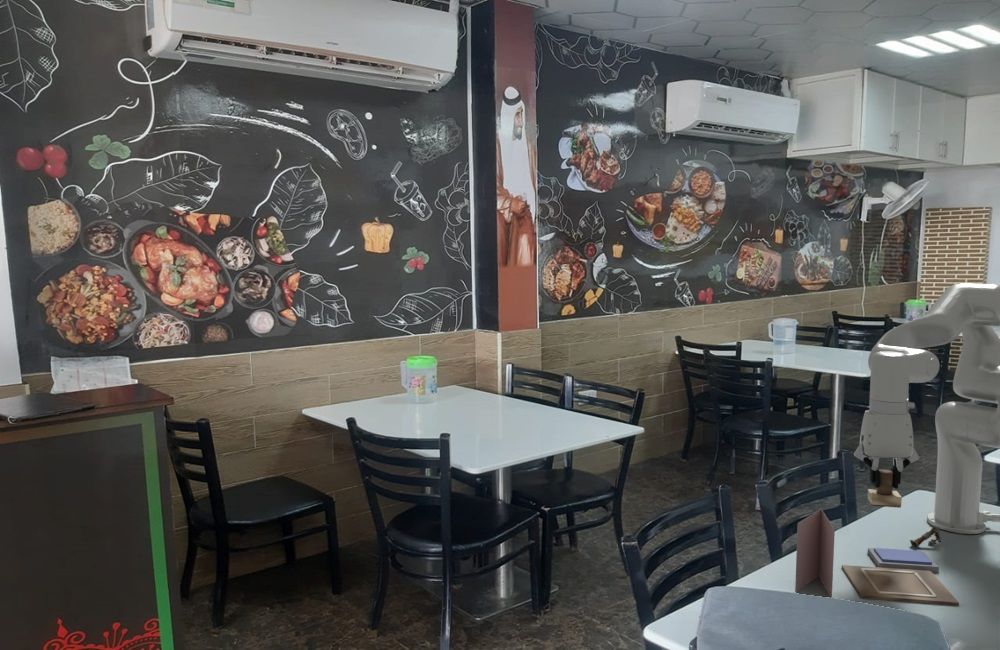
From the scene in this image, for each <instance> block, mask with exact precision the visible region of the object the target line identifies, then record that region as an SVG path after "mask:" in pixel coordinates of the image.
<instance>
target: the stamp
mask: <svg viewBox="0 0 1000 650" xmlns="http://www.w3.org/2000/svg"><path fill="white" fill-rule="evenodd" d="M878 470H879V471H880V485H879V487H878V488H876V489H873V488H872V489H871V488H867V501H868V502H869V503H870V505H871V506H872V507H873V506H874V507H887V508H897V509H898V508H900V509H901V507H902V498H903V497H902V496H901V494H900V493H899V492H898V491H897V490H894V487H893V472H892V471H891V469H878Z"/></svg>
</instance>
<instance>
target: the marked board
mask: <svg viewBox="0 0 1000 650" xmlns="http://www.w3.org/2000/svg"><path fill="white" fill-rule="evenodd" d="M841 569H842V570H843V572H844V574H845V575H846V577H847V578H848V580H849V581H850V583H851V585H853V588H854V589H855V590H856V593H857V594H858V595H859V597H860V599H869V600H881V601H882V600H883V601H891V602H892V601H895V602H907V603H909V602H910V603H921V604H933V605H934V604H936V605H945V606H946V605H949V606H960V602H959V601H958V600H957V598H956V597H955V596H954V595H953V594H952V592H950V590H949V589H948V588H947V587H945V585H944V584H943V583H942V582H941V581H940V580H939V579H938V578H937V576H935V574H934V572H931V571H925V570H910V569H895V568H880V567H878V566H877V567H876V566H864V565H863V566H862V565H848V564H847V565H846V564H842V565H841Z"/></svg>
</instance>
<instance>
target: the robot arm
mask: <svg viewBox="0 0 1000 650" xmlns="http://www.w3.org/2000/svg"><path fill="white" fill-rule="evenodd" d="M993 327H1000V284H985V283H956V284H953V285H950V286H949V287H948V288H947V289H945V291H943V292H942V293H941V295H940V296H939V297H938V299H937V300H936V301H935V302H934V303H933V304H932V305H931V307H930V308H929V309H928V310H927V311H926V312H925V313H924V314H923V316H921V317H918V318H917V317H916V318H915V319H912V320H910V321H907V322H905V323H903V324H900V325H898V326H896V327H894V328H892V329H890V330H888V331H887V332H886V333H884V334H883V336H881V338H880V339H879V340H878V341H877V342H876V344H875V345H874V346H873V347H872V349H871V350H870V353H869V356H868V360H867V366H868V368H869V370H870V384H869V405H868V406H869V407H868V409H867V410H865V411H864V413H863V417H862V423H861V426H860V427H861V429H860V435H859V445H858V447H856V450H855V451H854V452H853V455H854V457H855V458H856V459H858V460H860V461H862V462H864V463H865V464H866V465H867V466H868V467H869V468H870V470H869V481H870V483H871V484H872V485H873V486H874V487H875V488H876V489H877V488H878V487H879V485H880V471H879V470H880V469H879V462H880V458H888V459H889V458H890V459H892V461H893V462H892V463H893V466H892V467H891V468H890V471H892V472H893V489H895V490H898V489H899V485H900V484H901V479H902V477H901V476H902V472H903V471H904V469H905V468H906V467H908V466H909V465H910V464H912V463H914V462H916V461H918V460H920V456H919V454H918V452H917V451H916V449H915V447H914V429H913V422H912V417H911V414H910V413H909V410H911V409H916V408H915V407H916V405H915V402H911V401H909V387H910V386H909V384H911V383H912V384H913V383H914V384H919V383H920V384H921V383H922V384H923V383H924V384H925V383H927V382H931V380H934V378H936V377H937V375H938V374H939V371H940V367H941V366H940V361H939V358H938V356H937V355H936V354H935V353H933V352H931V351H929V350H925V348H932V347H938V346H942V345H946V344H950V343H952V342H954V341H955V340H957V338H958V337H959V336H960V335H962V347H961V351H960V355H959V359H958V362H957V365H956V369H955V372H954V377H953V381H952V389H953V392H954V393H955V394H956V395H957V396H960V397H962V398H965V399H969V400H975V401H980V402H985V403H991V404H992V403H993V404H997V407H992V406H985V405H981V404H975V403H971V402H964V401H963V402H962V401H947V402H944V403H942V404H941V405H940V406H939V407H937V410H936V412H935V414H934V415H935V416H934V420H935V421H934V423H935V430H936V436H937V463H936V465H937V466H936V478H935V479H936V480H935V481H936V482H935V493H934V495H935V496H934V497H935V498H934V511H932V512H930V513H928V514H927V516H926V521H927V522H928V524H930V525H931V526H932V527H933V526H934V527H935V526H939V527H940V529H939V530H942V531H943V530H944V531H946V532H950V533H954V534H955V533H956V534H964V535H978V534H981V533H984V532H985V531H986V530H987V529H986V526H987V525H986V523H987V522H993V523H1000V514H999V513H991V512H990V511H988V510H983V511H982V509H980V505H981V490H982V488H981V487H982V475H983V458H982V455H981V453H980V451H979V449H978V447H977V445H979V446H984V447H990V448H996V449H999V450H1000V337H999V335H998V333H996V331H995V330H994V329H993ZM923 348H924V349H923Z"/></svg>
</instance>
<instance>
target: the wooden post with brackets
mask: <svg viewBox="0 0 1000 650" xmlns="http://www.w3.org/2000/svg"><path fill="white" fill-rule="evenodd" d="M940 530H941V529H940V527H939V526H933V525H932V528H930V530H929V531H926V532H924V534H922V535H921V536H920V537H917V538H916V539H909V542H910V544H911V546H912V547H914V548H917V549H918V550H919V549H920V547H919V546H920V545H921V544H922V543H923V542H925V541H927V540H928V539H930V538H931V537H932V535H933V536H935V538H934V539H933V538H931V540H929V541H928V544H927V545H928V546H934V545H937V543H938V544H940V543H942V538H941V536H940V534H939V531H940Z"/></svg>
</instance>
